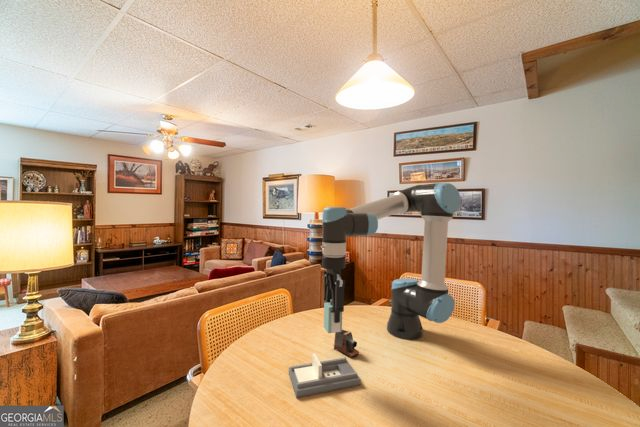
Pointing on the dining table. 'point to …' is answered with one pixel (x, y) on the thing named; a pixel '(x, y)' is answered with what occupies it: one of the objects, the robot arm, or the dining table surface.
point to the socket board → (326, 378)
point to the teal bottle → (329, 316)
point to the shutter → (309, 371)
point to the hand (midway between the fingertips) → (332, 328)
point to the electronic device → (345, 343)
